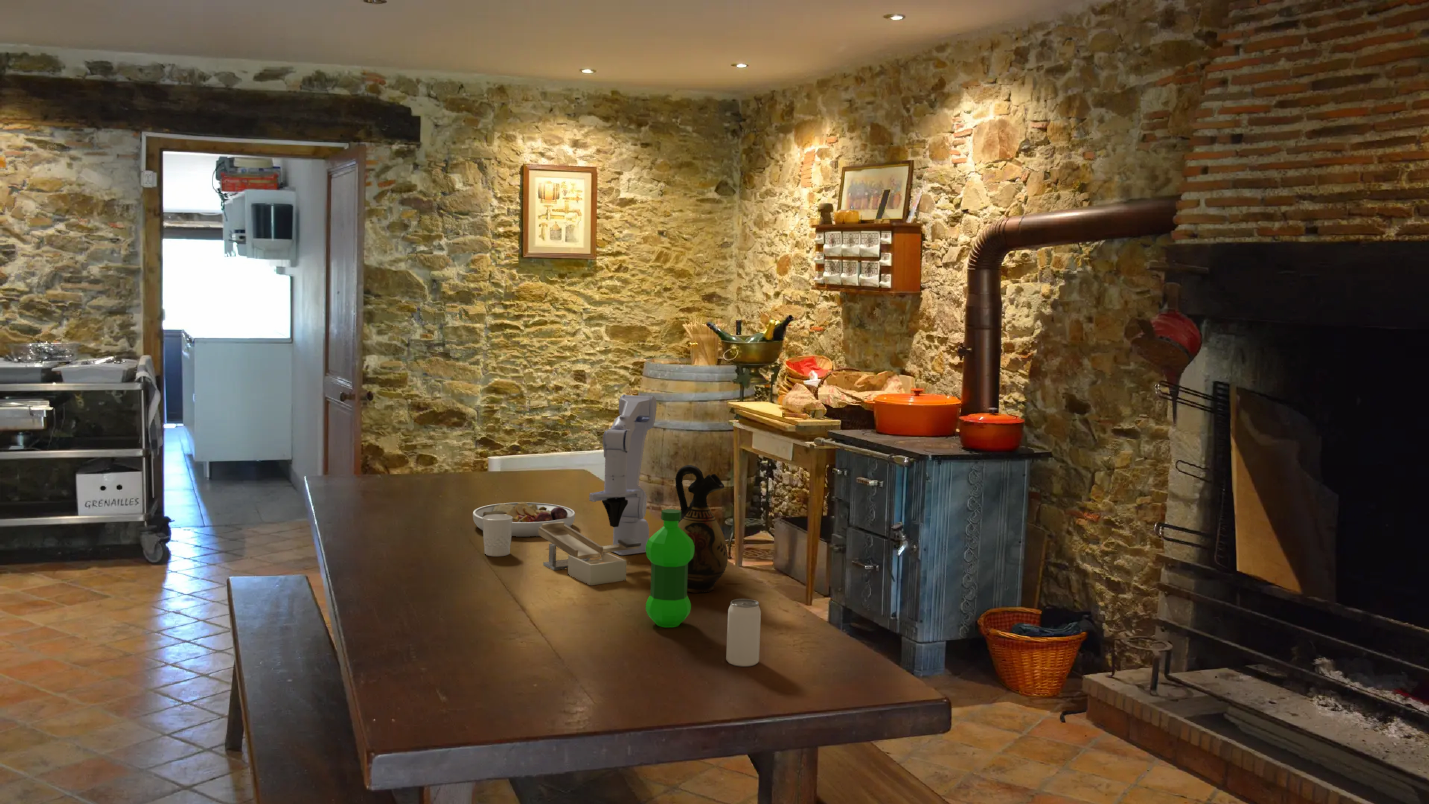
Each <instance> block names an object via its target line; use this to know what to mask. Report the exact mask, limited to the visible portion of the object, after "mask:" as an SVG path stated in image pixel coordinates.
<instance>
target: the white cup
mask: <svg viewBox="0 0 1429 804" xmlns="http://www.w3.org/2000/svg"><path fill="white" fill-rule="evenodd" d="M512 520H513V517H512V516H510V515H504V514H492V515H486V516H483V530H482V535H483V538H482V539H483V547H484V549H483V550H484V551H483V553H484V555H485V554H486V556H488V557H504V556H509V555H510V553H511V543H512Z"/></svg>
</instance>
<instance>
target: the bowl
mask: <svg viewBox="0 0 1429 804" xmlns="http://www.w3.org/2000/svg"><path fill="white" fill-rule="evenodd" d="M492 514H504V515H510V516H512V517H513V520H512V536H516V538H530V536H536V537H541V536H540V535H538V531H539V527H542V524H544V523H554V522H565V523H564V525H565V524H566V525H567V526H569V527H572V525H573V524H574V523H575V522H574V521H575V519H576V512H575V511H574V509H571V508H570V507H567V506H563V505H558V504H552V503H541V502H527V501H519V502H506V503H505V502H504V503H495V504H489V505H484V506H480V507H478V508H475V509H474V510H473V512H472V519H473V522H474V524H475V525H476V526H477V528H478V529H480V530H481V531H483V516H486V515H492ZM512 536H511V537H512Z"/></svg>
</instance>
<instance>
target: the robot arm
mask: <svg viewBox="0 0 1429 804" xmlns="http://www.w3.org/2000/svg"><path fill="white" fill-rule="evenodd" d="M618 414H619V416H617V417H616V418H615V419H614V422H613V423H612V425H611V427H610V429H609V428H607V430H605V431H604V433H603V436H602V448H603V458H605V459H604V485H603V487H604V489H603V490H602V491H596V492H589V496H588V497H589V498H588V501H589V502H592V503H595V502H599V501H600V502H601V503H602V505H603V507H604V508H605V511H606V513H607V517H608V521H609V526H610V527H611V528H612V527H613V530H612V531H613V534H612V535H613V536H612V545H616V544H619V543H618V540H620V539H628V538H633V539H635V540H637V541H638V542H640V543H641V546H639V548H636V549H628V550H620V551H612V553H615V554H617V555H619V556H628V555H635V554H643V553H646V544H647V541H648V539H649V538H650V527H649V526H650V525H649V523H648V521H647V520H646V519H645V516H646V514H647V498H648V496H647V494H646V493H647V492H646V491H645V490H644V489H643V488H642V487H641V486H639V483H640V476H641V469H642V463H643V455H644V448H645V441H646V438H647V434H648V431H649V430H651V429H653V428H654V425H655V423H656V416H657V398H656V397H655V396H654V395H651V396H650V395H631V394H625V393H624V394H622V395H621V396H620V397H619V401H618Z"/></svg>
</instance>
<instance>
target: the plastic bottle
mask: <svg viewBox="0 0 1429 804" xmlns="http://www.w3.org/2000/svg"><path fill="white" fill-rule="evenodd" d="M680 510H681V509H680ZM680 510H679V509H675V508H674V509H673V508H669V509H668V508H667V509H662V510H661V513H660V517H661V518H660V519H661V520H662V521H663V526H662V527H660V529H658V530H657V531H656V532H654V533H653V534H652V536H649V539H648V541H647V544H646V552H645V554H646V558H647V559H648V560H649V561H650V564H651V565H650V592H649V593H650V594H649V596H648V598H647V600H646V602H645V611H646V615H647V616H648V617H649V618H650V619H651V620H652V622H654V623H655V625H657V627H661V628H676V627H679V626H680V624H681V623H683V622H684V621H685V620H686V618H688V616H689V615H690V613H691V610H692V603H691V600H690V599H689V596H688V591H687V578H688V562H689V561H690V560H691V559H692V558H693V555H694V548H695V546H694V543H693V540H692V539H691V538H690V537H689V536H688V535H687V534H686V533H685V532H684V531H683V530H681V529H680V528H679V527H678V522H679V521H680V520H681V511H680Z"/></svg>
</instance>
